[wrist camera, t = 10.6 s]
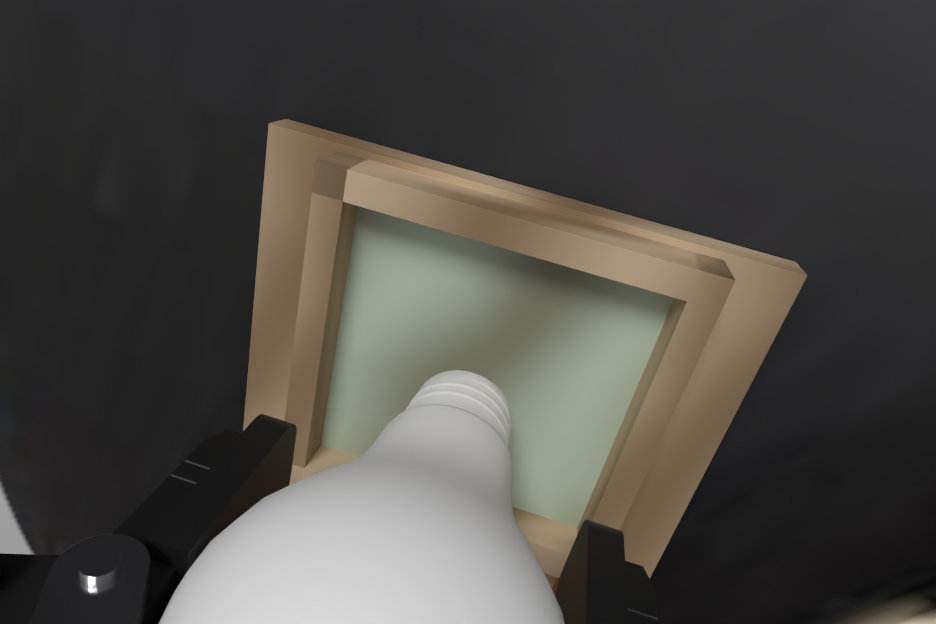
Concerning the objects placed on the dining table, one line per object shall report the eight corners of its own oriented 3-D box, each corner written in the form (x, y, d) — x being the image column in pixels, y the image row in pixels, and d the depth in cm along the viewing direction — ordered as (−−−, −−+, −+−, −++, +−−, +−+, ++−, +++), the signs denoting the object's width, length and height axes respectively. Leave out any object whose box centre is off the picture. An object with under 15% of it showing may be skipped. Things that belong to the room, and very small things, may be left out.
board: (795, 262, 16) (826, 297, 14) (565, 717, 24) (561, 782, 22) (286, 119, 17) (240, 130, 15) (239, 603, 26) (206, 655, 23)
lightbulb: (482, 524, 18) (340, 1120, 8) (318, 394, 17) (-63, 874, 7) (637, 399, 15) (708, 1055, 5) (450, 240, 15) (139, 664, 5)
